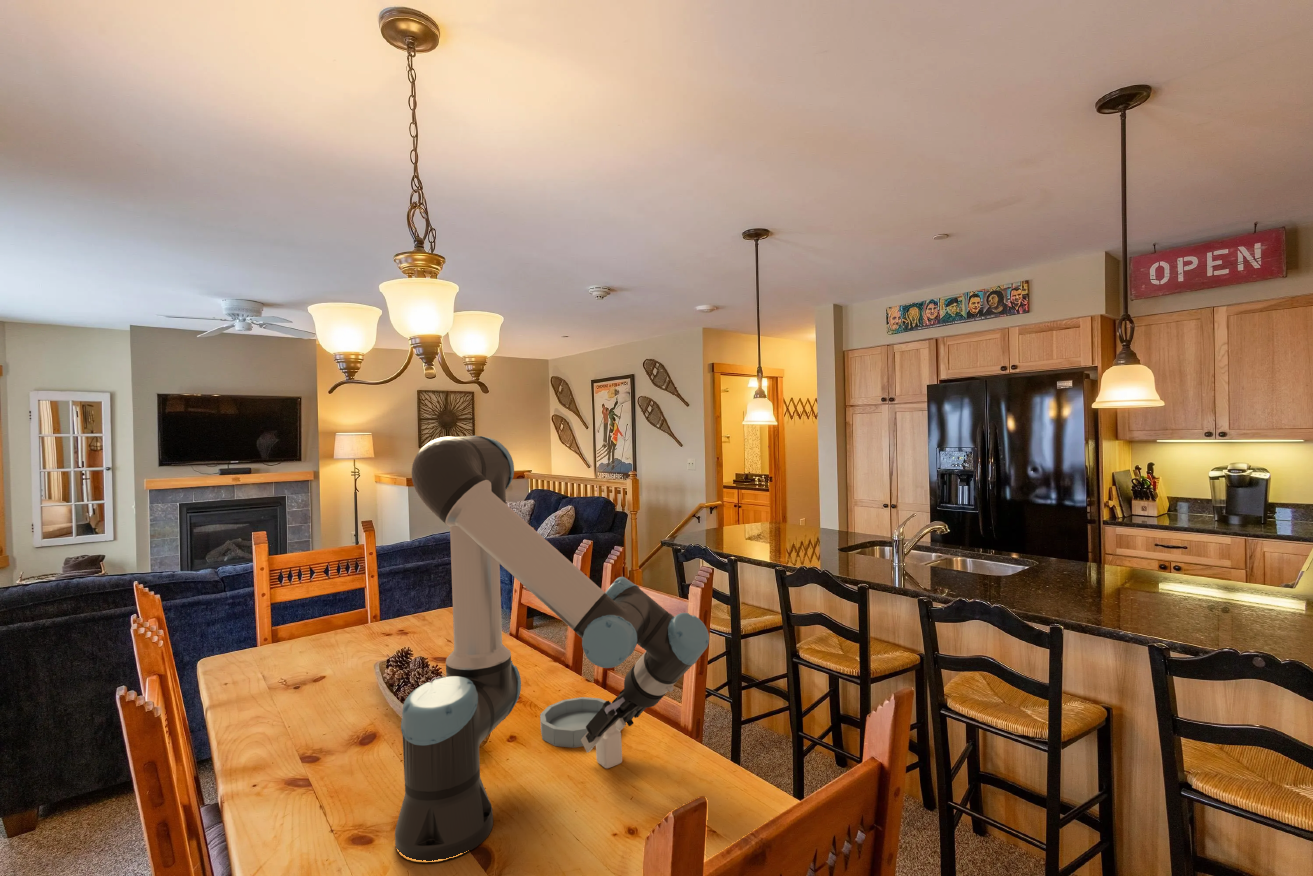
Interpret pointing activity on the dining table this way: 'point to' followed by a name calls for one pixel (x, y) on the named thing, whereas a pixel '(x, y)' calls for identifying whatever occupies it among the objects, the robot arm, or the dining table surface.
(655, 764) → the dining table surface
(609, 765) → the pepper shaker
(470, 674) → the robot arm
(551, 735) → the bowl
